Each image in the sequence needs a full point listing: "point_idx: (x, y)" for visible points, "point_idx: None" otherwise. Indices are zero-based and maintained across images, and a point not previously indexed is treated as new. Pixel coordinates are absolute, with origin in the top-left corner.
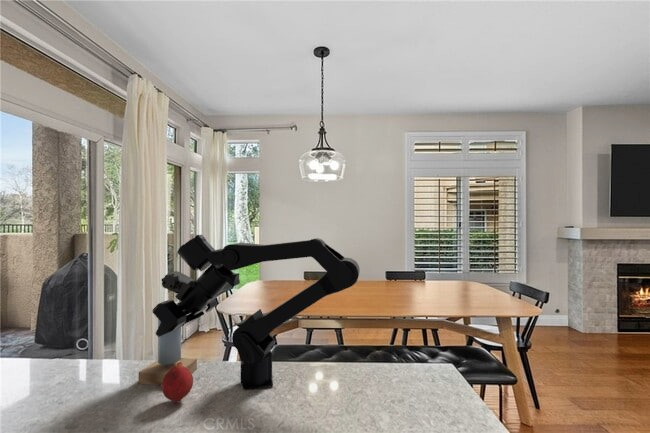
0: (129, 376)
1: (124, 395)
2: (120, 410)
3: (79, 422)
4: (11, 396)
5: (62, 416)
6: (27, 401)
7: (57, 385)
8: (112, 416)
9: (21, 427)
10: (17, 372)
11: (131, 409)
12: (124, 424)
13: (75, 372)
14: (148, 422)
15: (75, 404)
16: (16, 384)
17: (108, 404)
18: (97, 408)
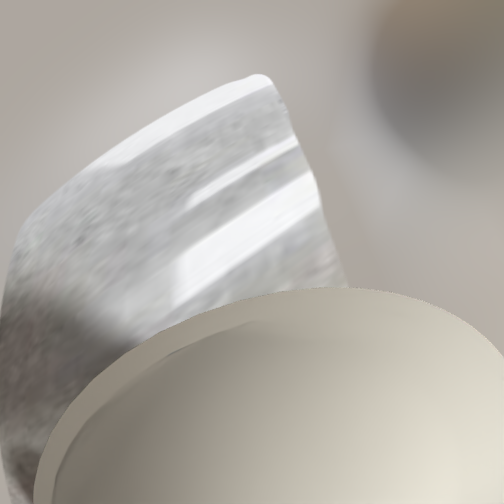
0: (224, 305)
1: (104, 369)
2: (41, 400)
3: (8, 336)
4: (121, 147)
5: (29, 286)
6: (96, 181)
7: (161, 176)
8: (22, 394)
9: (14, 245)
10: (217, 97)
11: (46, 425)
12: (4, 433)
13: (229, 163)
14: (17, 480)
15: (68, 275)
16: (169, 122)
17: (62, 354)
18: (48, 338)
